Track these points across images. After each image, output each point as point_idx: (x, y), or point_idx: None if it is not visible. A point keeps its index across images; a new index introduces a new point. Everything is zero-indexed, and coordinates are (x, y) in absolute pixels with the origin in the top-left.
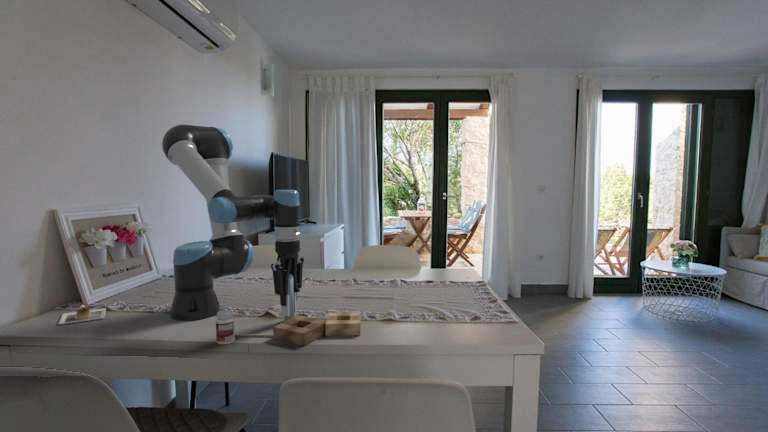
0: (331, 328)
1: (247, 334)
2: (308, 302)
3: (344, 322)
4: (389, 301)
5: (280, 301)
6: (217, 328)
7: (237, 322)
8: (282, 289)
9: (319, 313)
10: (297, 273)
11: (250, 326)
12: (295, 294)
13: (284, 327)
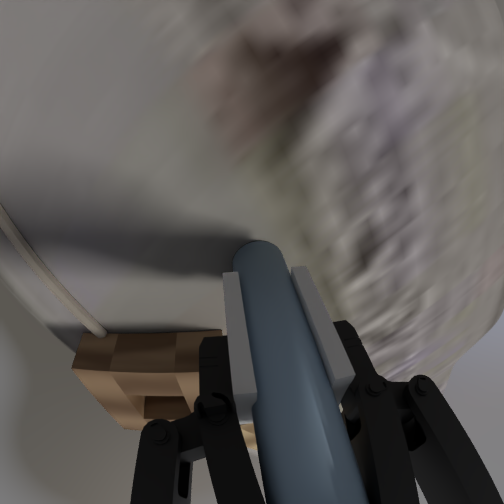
0: None
1: (20, 250)
2: (494, 168)
3: (248, 443)
4: (474, 342)
5: (199, 365)
6: None
7: (89, 33)
8: (181, 481)
9: (394, 291)
10: (437, 492)
11: (82, 149)
12: None
13: (100, 392)
